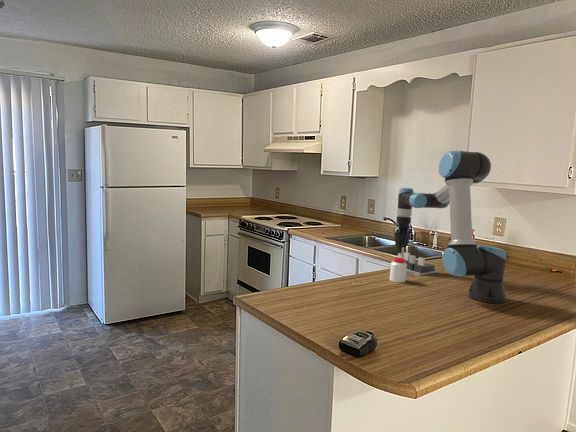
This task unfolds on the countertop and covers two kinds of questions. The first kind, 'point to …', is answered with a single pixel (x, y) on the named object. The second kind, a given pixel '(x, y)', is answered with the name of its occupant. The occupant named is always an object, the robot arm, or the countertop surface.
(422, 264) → the handle far
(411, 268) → the panel
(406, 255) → the handle
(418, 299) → the countertop surface
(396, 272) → the pill bottle
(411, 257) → the handle mid
